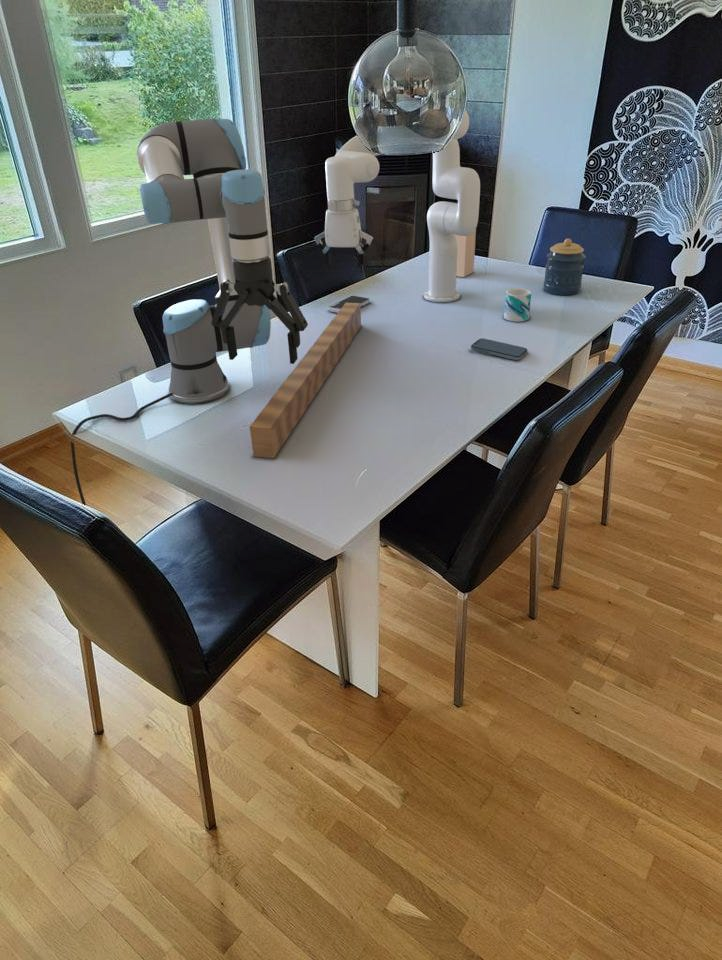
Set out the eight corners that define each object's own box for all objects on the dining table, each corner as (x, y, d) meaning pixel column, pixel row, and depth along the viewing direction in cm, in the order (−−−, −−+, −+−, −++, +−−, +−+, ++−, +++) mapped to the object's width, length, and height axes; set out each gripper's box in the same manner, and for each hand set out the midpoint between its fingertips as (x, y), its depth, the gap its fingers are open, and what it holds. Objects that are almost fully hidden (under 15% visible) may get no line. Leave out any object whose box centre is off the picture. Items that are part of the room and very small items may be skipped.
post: (273, 458, 147) (270, 428, 143) (253, 456, 148) (249, 426, 144) (361, 326, 215) (360, 303, 211) (346, 325, 216) (345, 302, 212)
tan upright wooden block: (464, 277, 255) (467, 216, 243) (444, 274, 259) (446, 214, 248) (478, 268, 264) (481, 209, 252) (458, 266, 268) (461, 208, 256)
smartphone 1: (370, 298, 234) (345, 310, 224) (370, 302, 235) (345, 314, 224) (352, 295, 238) (327, 307, 227) (352, 299, 238) (327, 311, 228)
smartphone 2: (518, 357, 186) (469, 345, 193) (518, 362, 187) (469, 351, 194) (528, 347, 191) (480, 337, 198) (528, 353, 192) (480, 342, 199)
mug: (499, 319, 216) (501, 293, 211) (513, 308, 224) (516, 283, 220) (524, 323, 212) (526, 296, 207) (537, 311, 220) (540, 286, 216)
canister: (554, 297, 232) (561, 245, 222) (536, 286, 243) (541, 236, 233) (587, 292, 235) (595, 240, 225) (568, 282, 245) (574, 232, 236)
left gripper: (318, 254, 131) (324, 355, 143) (200, 250, 136) (216, 349, 148) (306, 265, 125) (314, 370, 137) (184, 261, 130) (201, 362, 142)
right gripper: (374, 202, 190) (376, 263, 200) (315, 202, 194) (320, 262, 203) (368, 208, 184) (370, 270, 194) (308, 208, 188) (313, 269, 197)
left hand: (263, 359), depth 142 cm, fingers open, 13 cm apart
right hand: (344, 266), depth 198 cm, fingers open, 9 cm apart
